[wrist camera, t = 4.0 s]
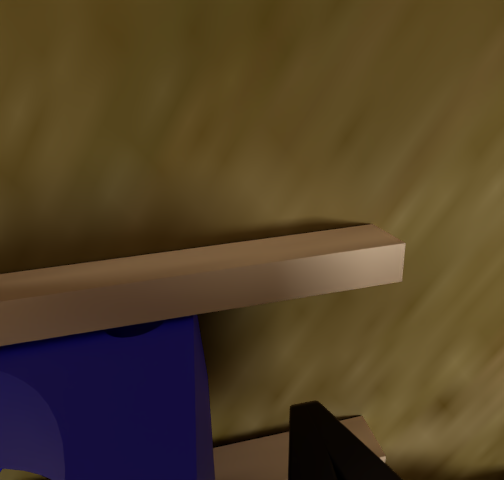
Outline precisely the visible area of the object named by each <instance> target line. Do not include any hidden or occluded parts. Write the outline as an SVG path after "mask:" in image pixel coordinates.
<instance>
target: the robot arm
mask: <svg viewBox="0 0 504 480" xmlns="http://www.w3.org/2000/svg"><path fill="white" fill-rule="evenodd" d="M288 480H403V479H402V478H401V477H400V476H399V475H398V474H397V473H395V472H394V471H393V470H392V469H391V468H390V467H389V466H388V465H387V464H386V463H385V462H384V461H382V460H381V459H380V458H379V457H378V456H377V455H376V454H375V453H374V452H373V451H372V450H371V449H369V448H368V447H367V446H366V445H365V444H364V443H363V442H362V441H361V440H360V439H359V438H358V437H356V436H355V435H354V434H353V433H352V432H351V431H350V430H349V429H348V428H347V427H346V426H345V425H343V424H342V423H341V422H340V421H339V420H338V419H337V418H336V417H335V416H334V415H333V414H332V413H330V412H329V411H328V410H327V409H326V408H325V407H324V406H323V405H322V404H321V403H320V402H318V401H310V402H305V403H300V404H294V405H291V406H290V418H289V453H288Z"/></svg>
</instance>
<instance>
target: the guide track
mask: <svg viewBox="0 0 504 480" xmlns="http://www.w3.org/2000/svg"><path fill="white" fill-rule="evenodd" d="M404 253H405V243H404V242H403V241H401V240H399V239H398V238H396V237H394V236H392V235H391V234H389V233H387V232H385V231H384V230H382V229H380V228H379V227H377V226H375V225H373V224H370V225H362V226H355V227H347V228H340V229H332V230H325V231H318V232H310V233H303V234H295V235H288V236H280V237H273V238H265V239H258V240H251V241H243V242H236V243H228V244H221V245H213V246H206V247H198V248H191V249H184V250H176V251H169V252H161V253H154V254H146V255H139V256H131V257H124V258H117V259H109V260H102V261H94V262H87V263H79V264H72V265H64V266H57V267H50V268H42V269H35V270H27V271H20V272H12V273H5V274H0V346H4V345H11V344H17V343H23V342H29V341H35V340H42V339H48V338H54V337H60V336H66V335H73V334H79V333H85V332H91V331H97V330H104V329H110V328H116V327H122V326H129V325H135V324H141V323H147V322H153V321H160V320H166V319H172V318H178V317H184V316H191V315H197V314H203V313H209V312H215V311H222V310H228V309H234V308H240V307H246V306H253V305H259V304H265V303H271V302H277V301H284V300H290V299H296V298H302V297H308V296H315V295H321V294H327V293H333V292H339V291H346V290H352V289H358V288H364V287H370V286H377V285H383V284H389V283H395V282H401V281H402V275H403V264H404ZM340 422H341V423H342V424H343V425H345V426H346V427H347V428H348V429H349V430H350V431H351V432H352V433H353V434H354V435H355V436H356V437H358V438H359V439H360V440H361V441H362V442H363V443H364V444H365V445H366V446H367V447H368V448H369V449H371V450H372V451H373V452H374V453H375V454H376V455H377V456H378V457H379V458H380V459H381V460H382V461H384V462H385V460H386V455H385V454H384V452H383V450H382V449H381V447H380V445H379V443H378V442H377V440H376V438H375V437H374V435H373V433H372V431H371V430H370V428H369V426H368V424H367V423H366V421H365V419H364V418H363V416H359V417H355V418H350V419H345V420H341V421H340ZM288 453H289V432H285V433H281V434H276V435H271V436H267V437H262V438H258V439H253V440H248V441H244V442H239V443H234V444H230V445H225V446H221V447H216V448H213V456H214V470H215V480H288Z"/></svg>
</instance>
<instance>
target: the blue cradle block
mask: <svg viewBox="0 0 504 480" xmlns="http://www.w3.org/2000/svg"><path fill="white" fill-rule="evenodd" d="M2 469H14V470H24V471H28V472H32V473H36V474H40V475H42V476H44V477H47V478H49V479H51V480H215V470H214V456H213V442H212V428H211V414H210V401H209V387H208V375H207V369H206V364H205V358H204V352H203V346H202V340H201V334H200V328H199V322H198V316H197V315H191V316H184V317H178V318H172V319H166V320H160V321H153V322H147V323H141V324H135V325H129V326H122V327H116V328H110V329H104V330H97V331H91V332H85V333H79V334H73V335H66V336H60V337H54V338H48V339H42V340H35V341H29V342H23V343H17V344H11V345H4V346H0V472H1V470H2Z"/></svg>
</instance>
